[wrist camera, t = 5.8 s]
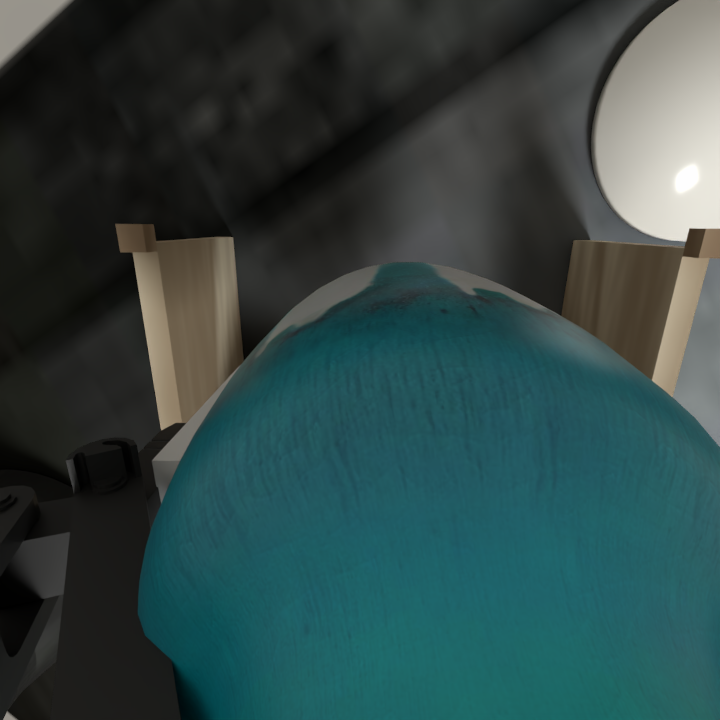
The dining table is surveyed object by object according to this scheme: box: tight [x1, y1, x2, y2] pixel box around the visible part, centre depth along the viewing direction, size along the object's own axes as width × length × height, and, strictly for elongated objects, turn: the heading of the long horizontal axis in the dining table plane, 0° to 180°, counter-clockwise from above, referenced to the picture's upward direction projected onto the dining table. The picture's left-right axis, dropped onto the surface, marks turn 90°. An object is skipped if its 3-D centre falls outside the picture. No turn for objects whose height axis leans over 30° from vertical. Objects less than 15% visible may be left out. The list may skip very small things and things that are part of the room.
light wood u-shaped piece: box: [116, 224, 720, 430], centre depth 21 cm, size 22×14×10 cm, turn 90°
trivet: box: [591, 0, 720, 241], centre depth 21 cm, size 12×12×1 cm
